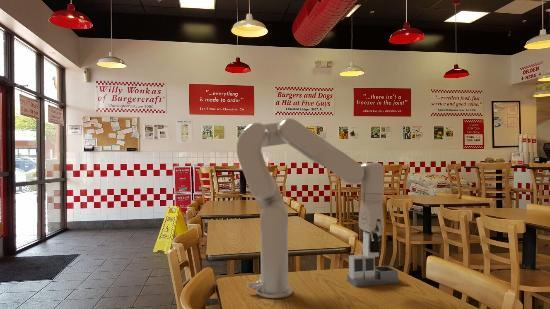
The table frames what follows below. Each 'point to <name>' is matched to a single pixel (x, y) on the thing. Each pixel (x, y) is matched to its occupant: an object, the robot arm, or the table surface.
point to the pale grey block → (368, 245)
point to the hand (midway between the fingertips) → (371, 250)
